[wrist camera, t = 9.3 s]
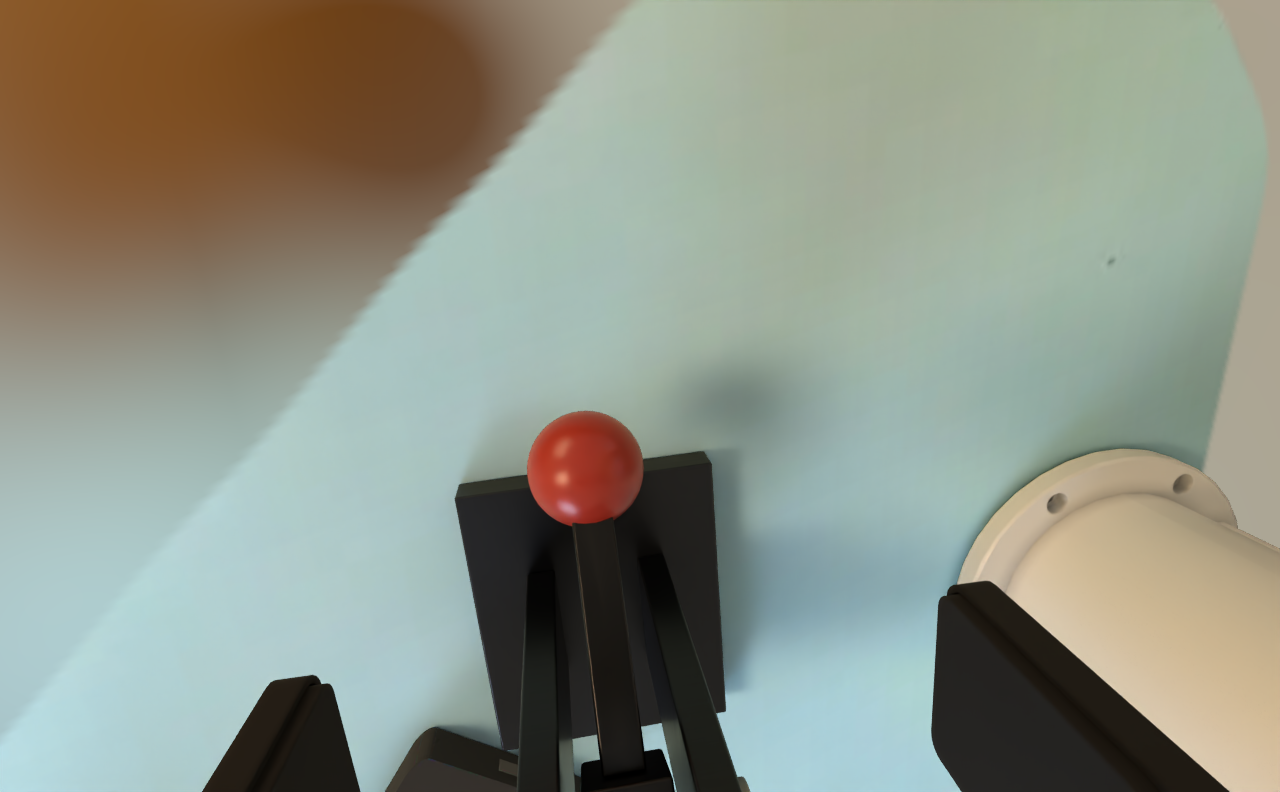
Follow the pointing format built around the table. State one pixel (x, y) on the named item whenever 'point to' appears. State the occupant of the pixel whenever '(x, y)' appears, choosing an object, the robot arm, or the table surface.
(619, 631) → the red knob lever
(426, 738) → the smart home device
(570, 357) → the table surface
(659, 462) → the black bracket
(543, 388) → the table surface
